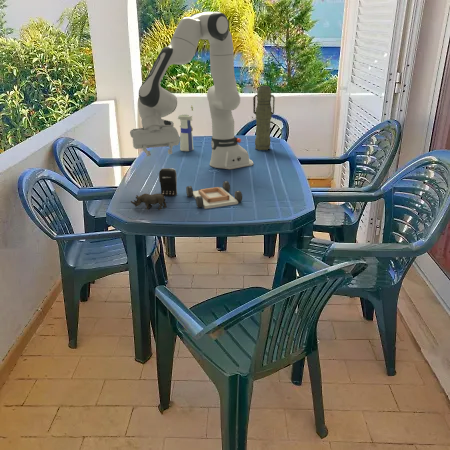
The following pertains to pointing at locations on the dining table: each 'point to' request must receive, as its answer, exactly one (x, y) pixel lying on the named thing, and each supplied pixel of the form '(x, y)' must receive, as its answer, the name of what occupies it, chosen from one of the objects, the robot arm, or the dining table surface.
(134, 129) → the robot arm
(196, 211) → the dining table surface
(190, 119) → the water bottle
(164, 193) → the battery charger
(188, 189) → the chassis
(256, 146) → the thermos
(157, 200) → the rhino figurine
